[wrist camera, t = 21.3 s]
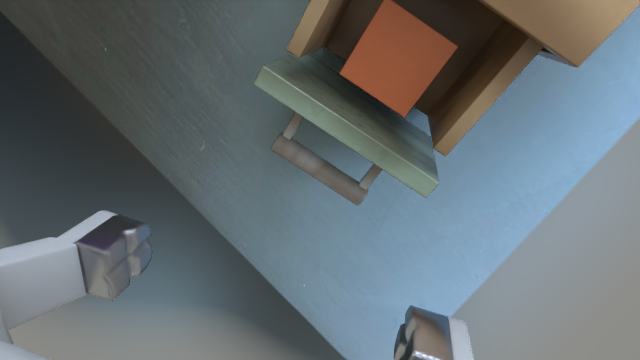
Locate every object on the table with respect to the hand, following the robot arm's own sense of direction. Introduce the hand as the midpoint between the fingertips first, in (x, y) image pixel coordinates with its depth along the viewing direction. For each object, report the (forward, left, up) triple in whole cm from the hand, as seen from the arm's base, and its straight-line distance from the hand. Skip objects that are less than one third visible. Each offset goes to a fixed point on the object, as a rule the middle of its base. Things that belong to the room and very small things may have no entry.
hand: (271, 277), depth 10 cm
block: (0, -6, -17) cm, 18 cm away
